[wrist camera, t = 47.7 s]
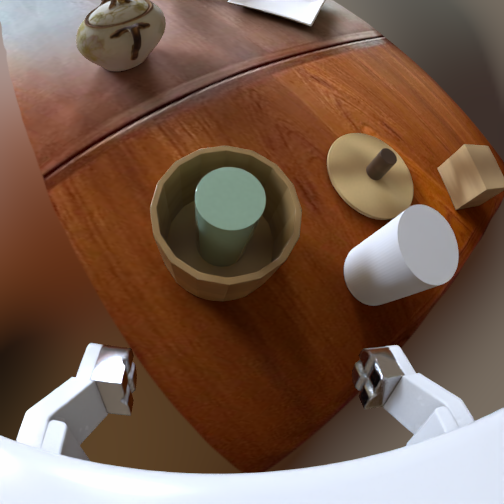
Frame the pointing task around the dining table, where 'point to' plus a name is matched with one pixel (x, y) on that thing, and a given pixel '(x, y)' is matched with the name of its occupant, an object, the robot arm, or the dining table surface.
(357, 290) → the white cylinder
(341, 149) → the basket lid
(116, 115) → the dining table surface
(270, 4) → the plate
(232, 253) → the canister
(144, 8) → the sugar bowl
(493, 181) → the stand
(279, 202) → the basket
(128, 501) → the robot arm
